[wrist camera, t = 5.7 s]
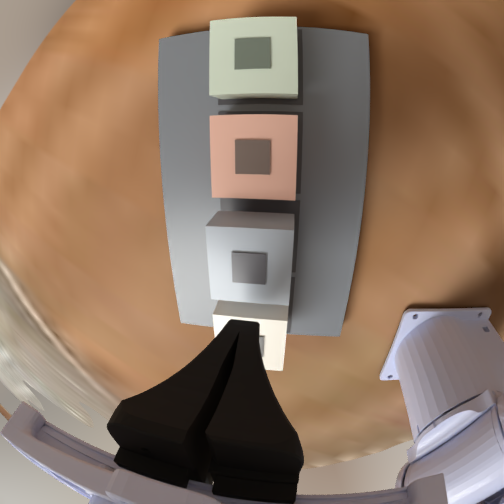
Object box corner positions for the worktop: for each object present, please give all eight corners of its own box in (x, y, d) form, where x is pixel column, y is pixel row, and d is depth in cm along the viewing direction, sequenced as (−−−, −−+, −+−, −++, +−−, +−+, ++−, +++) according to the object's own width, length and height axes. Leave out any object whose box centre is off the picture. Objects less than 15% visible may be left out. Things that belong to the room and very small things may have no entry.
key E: (296, 32, 11) (296, 16, 9) (297, 98, 13) (297, 93, 11) (222, 34, 12) (209, 20, 10) (222, 99, 14) (208, 95, 11)
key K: (294, 213, 15) (294, 231, 12) (290, 281, 16) (288, 306, 14) (218, 210, 15) (204, 226, 13) (221, 276, 17) (210, 300, 15)
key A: (289, 295, 17) (287, 322, 14) (284, 344, 18) (282, 372, 16) (222, 290, 17) (212, 315, 15) (226, 339, 19) (217, 365, 17)
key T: (297, 116, 14) (297, 115, 11) (295, 189, 15) (295, 201, 13) (222, 116, 14) (208, 115, 12) (223, 187, 16) (211, 198, 14)
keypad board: (363, 39, 12) (368, 33, 11) (338, 326, 21) (339, 337, 20) (167, 43, 14) (158, 38, 13) (185, 313, 22) (180, 323, 21)
